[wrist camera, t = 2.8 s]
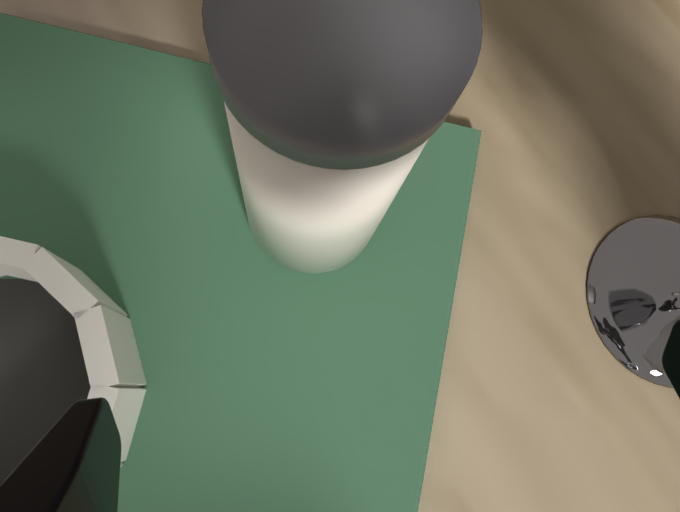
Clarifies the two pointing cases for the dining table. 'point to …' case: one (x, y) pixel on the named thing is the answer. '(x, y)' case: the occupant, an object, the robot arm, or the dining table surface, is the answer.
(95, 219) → the putting green
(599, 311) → the wine glass
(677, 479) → the dining table surface
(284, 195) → the golf ball tube
